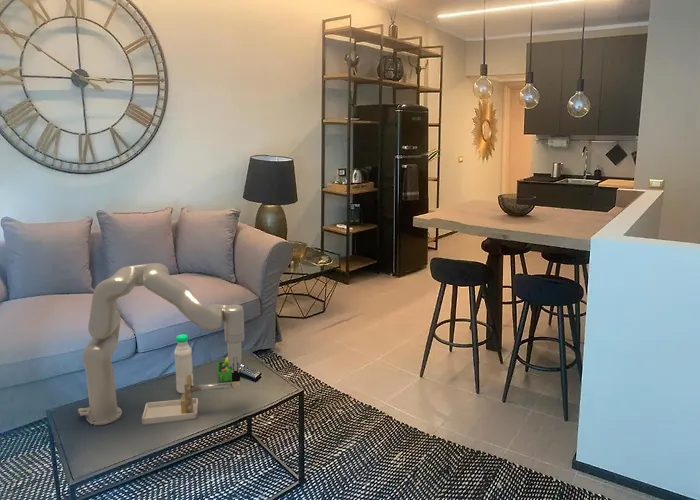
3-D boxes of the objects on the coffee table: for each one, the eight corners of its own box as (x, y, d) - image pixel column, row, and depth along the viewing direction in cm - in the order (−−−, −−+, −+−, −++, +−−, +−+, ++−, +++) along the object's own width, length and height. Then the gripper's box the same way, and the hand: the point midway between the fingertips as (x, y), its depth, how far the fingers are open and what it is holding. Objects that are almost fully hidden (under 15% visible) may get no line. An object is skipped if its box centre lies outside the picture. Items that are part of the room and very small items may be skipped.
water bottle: (188, 395, 225) (185, 339, 219) (173, 393, 226) (169, 338, 220) (196, 387, 232) (193, 333, 226) (181, 385, 233) (178, 331, 227)
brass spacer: (181, 415, 209) (180, 401, 207) (182, 407, 214) (182, 394, 213) (185, 415, 209) (184, 401, 208) (187, 407, 215) (186, 393, 213)
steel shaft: (189, 393, 209) (188, 372, 207) (189, 389, 212) (188, 368, 209) (240, 388, 213) (239, 367, 211) (240, 385, 216) (239, 364, 214)
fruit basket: (218, 371, 246) (217, 349, 243) (238, 370, 248) (237, 347, 245) (217, 383, 235) (216, 360, 233) (238, 382, 237) (237, 358, 234)
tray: (142, 424, 203) (141, 418, 202) (146, 408, 214) (146, 402, 214) (196, 419, 207) (196, 413, 207) (198, 403, 219) (198, 397, 218)
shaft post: (186, 416, 208) (184, 384, 205) (187, 405, 216) (185, 375, 212) (191, 415, 209) (189, 384, 205) (192, 405, 216) (191, 374, 213)
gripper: (224, 328, 216) (226, 370, 220) (224, 345, 200) (226, 389, 205) (243, 327, 217) (244, 369, 222) (244, 343, 202) (246, 388, 206)
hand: (235, 378), depth 213 cm, fingers closed on steel shaft, 3 cm apart
